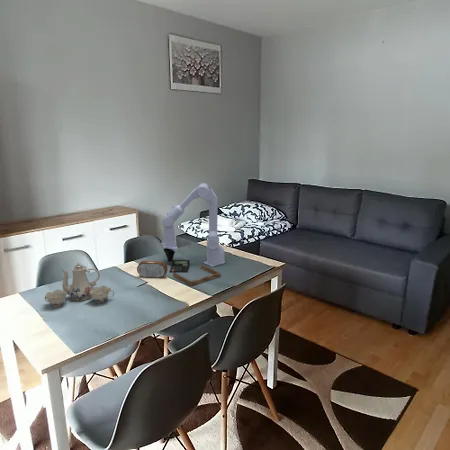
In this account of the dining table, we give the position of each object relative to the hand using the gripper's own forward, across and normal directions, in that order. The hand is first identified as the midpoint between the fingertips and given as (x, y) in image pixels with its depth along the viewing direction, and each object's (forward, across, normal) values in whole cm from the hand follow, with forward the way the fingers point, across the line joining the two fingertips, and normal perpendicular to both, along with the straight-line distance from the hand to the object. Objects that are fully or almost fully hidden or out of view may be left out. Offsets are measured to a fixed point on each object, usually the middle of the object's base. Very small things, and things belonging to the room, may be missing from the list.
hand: (170, 261), depth 202 cm
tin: (+2, +10, -17) cm, 20 cm away
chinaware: (+2, +12, -53) cm, 55 cm away
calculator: (+2, +9, 0) cm, 10 cm away
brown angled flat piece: (+1, +24, 0) cm, 25 cm away
